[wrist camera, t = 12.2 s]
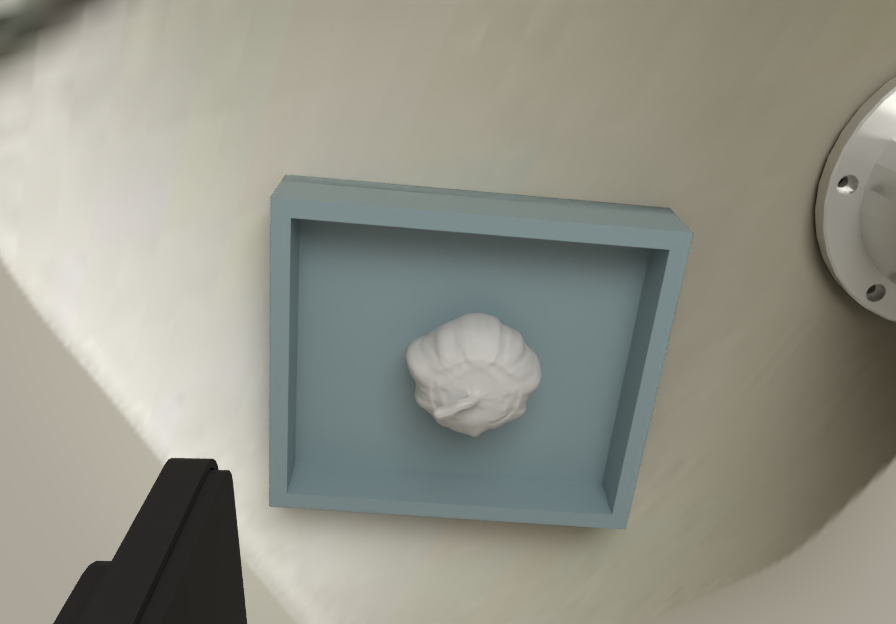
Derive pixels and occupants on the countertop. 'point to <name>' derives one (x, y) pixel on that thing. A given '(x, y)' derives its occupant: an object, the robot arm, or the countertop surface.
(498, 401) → the garlic
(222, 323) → the countertop surface
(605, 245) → the tray
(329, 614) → the countertop surface
